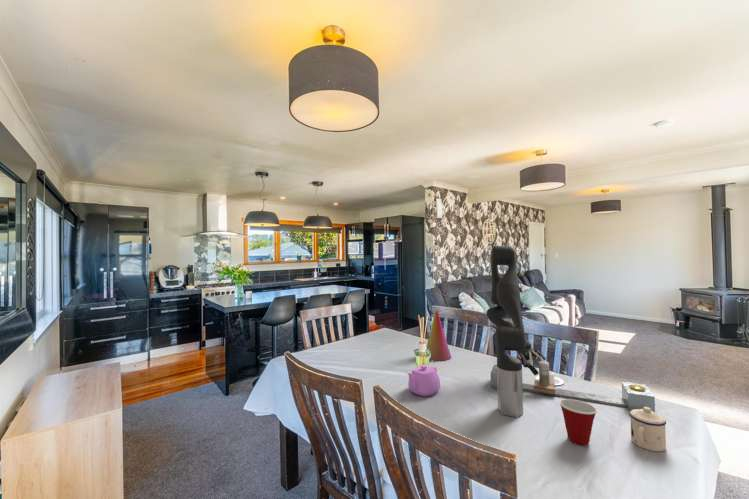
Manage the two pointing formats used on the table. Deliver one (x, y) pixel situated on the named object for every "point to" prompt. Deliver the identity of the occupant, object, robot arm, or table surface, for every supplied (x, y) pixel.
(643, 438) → the teacup with lid
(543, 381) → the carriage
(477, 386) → the table surface
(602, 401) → the rail
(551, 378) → the candle holder
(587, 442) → the plastic cup
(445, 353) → the decorative cone
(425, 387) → the teapot
